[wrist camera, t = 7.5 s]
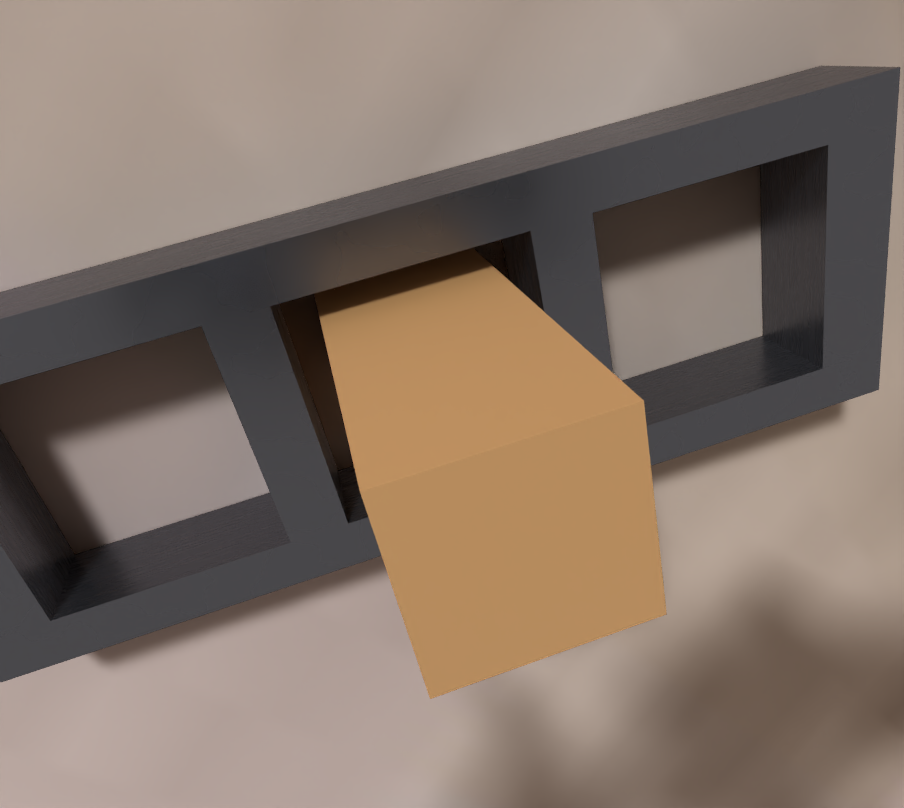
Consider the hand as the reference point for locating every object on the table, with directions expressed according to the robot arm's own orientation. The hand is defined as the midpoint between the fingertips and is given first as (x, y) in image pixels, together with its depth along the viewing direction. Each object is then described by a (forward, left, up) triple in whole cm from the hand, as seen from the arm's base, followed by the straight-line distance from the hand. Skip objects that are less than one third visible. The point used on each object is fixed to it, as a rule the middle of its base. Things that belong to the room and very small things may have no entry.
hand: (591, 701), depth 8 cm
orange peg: (0, 0, -12) cm, 12 cm away
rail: (0, 0, -12) cm, 12 cm away
